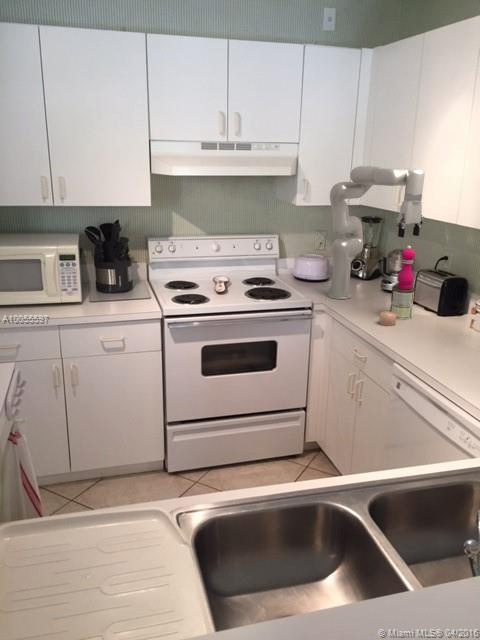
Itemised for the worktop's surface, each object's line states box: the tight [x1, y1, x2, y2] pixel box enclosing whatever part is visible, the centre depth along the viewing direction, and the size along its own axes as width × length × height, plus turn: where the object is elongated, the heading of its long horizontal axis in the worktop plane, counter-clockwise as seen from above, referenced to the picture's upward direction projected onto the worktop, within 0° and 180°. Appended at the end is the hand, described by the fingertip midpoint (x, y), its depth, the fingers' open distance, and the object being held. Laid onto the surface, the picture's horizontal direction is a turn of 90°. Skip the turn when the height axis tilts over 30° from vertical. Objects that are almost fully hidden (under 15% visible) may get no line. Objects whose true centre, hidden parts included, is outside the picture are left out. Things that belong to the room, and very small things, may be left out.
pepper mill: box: [396, 245, 416, 290], centre depth 246 cm, size 7×7×20 cm
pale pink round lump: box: [379, 310, 397, 327], centre depth 242 cm, size 7×7×5 cm
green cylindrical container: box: [389, 284, 416, 321], centre depth 251 cm, size 10×10×14 cm
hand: (408, 236), depth 243 cm, fingers open, 9 cm apart
